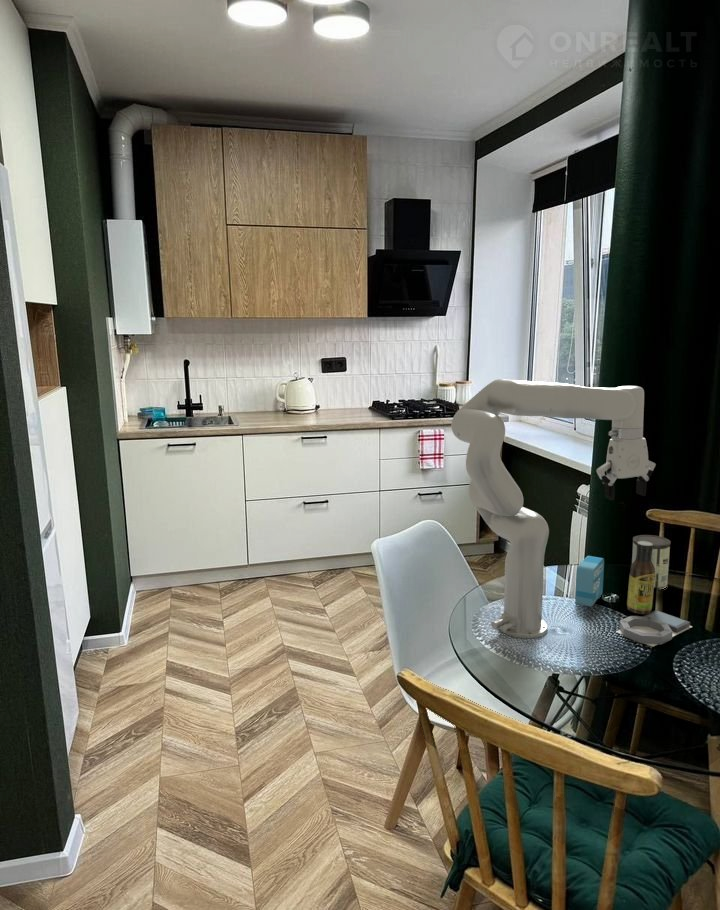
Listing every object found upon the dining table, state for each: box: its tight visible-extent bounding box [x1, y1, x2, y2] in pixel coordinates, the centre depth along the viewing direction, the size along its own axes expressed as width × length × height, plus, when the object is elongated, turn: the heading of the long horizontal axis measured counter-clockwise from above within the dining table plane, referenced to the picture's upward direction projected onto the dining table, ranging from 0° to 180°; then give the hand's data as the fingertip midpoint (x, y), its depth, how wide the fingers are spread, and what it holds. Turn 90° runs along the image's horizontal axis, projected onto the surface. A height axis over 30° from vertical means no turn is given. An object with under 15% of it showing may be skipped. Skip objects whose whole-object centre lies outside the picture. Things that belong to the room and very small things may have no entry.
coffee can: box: [631, 534, 672, 590], centre depth 193 cm, size 10×10×14 cm
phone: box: [643, 609, 691, 633], centre depth 166 cm, size 6×9×1 cm, turn 35°
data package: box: [574, 555, 605, 608], centre depth 182 cm, size 12×4×12 cm, turn 146°
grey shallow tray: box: [615, 615, 693, 648], centre depth 163 cm, size 19×11×3 cm, turn 125°
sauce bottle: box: [626, 541, 655, 615], centre depth 173 cm, size 6×6×20 cm
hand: (625, 496), depth 172 cm, fingers open, 9 cm apart
